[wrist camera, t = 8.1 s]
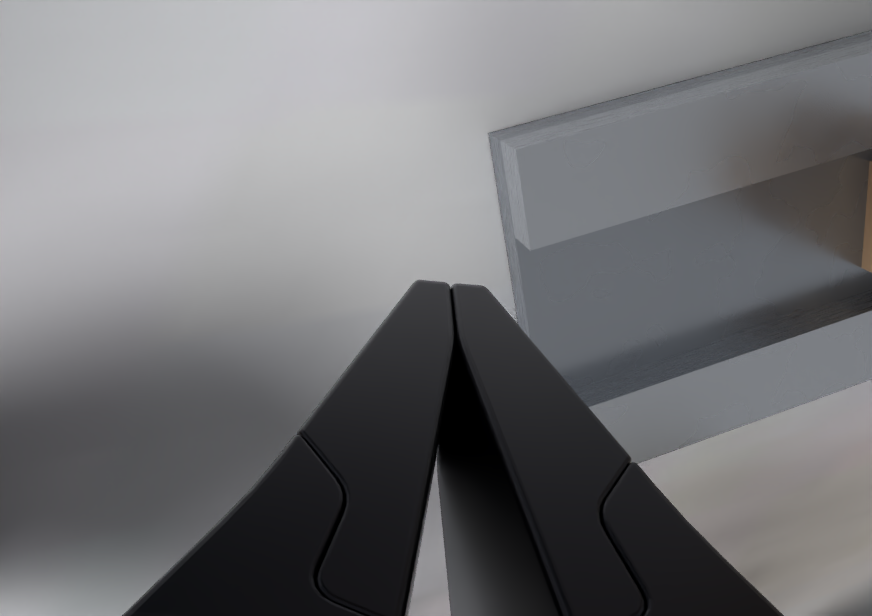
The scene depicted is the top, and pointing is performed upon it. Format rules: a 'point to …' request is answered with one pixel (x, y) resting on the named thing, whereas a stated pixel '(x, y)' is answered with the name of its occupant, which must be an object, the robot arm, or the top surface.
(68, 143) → the top surface
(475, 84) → the top surface
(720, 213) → the slot bed
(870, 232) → the brown block
